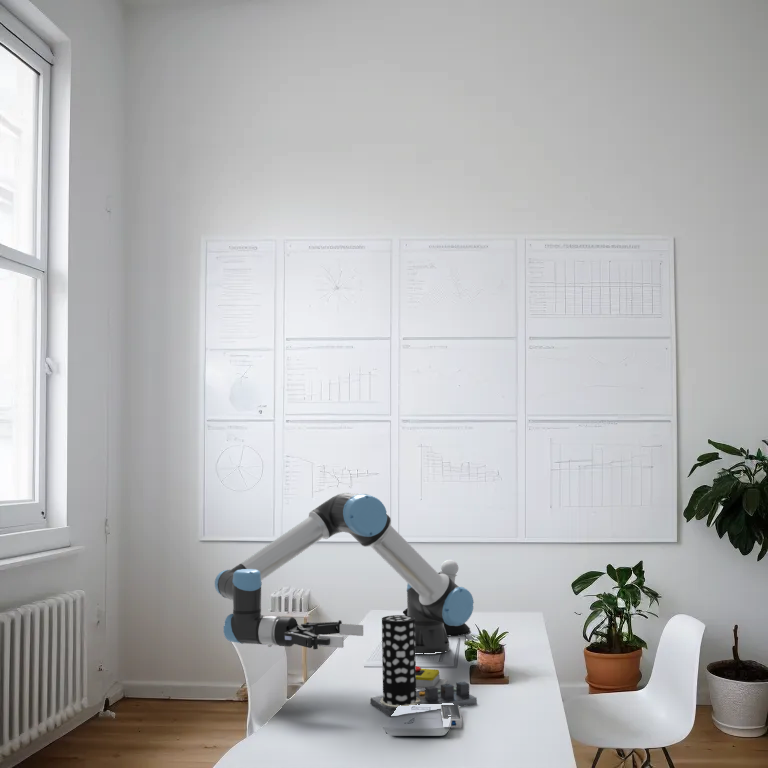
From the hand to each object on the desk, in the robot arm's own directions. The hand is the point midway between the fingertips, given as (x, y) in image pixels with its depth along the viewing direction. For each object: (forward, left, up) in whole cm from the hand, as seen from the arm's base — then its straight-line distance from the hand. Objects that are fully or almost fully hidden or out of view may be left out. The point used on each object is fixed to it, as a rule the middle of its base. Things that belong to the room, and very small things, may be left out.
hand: (353, 636), depth 216 cm
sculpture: (-58, -64, -16) cm, 87 cm away
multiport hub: (-15, +24, -17) cm, 33 cm away
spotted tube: (-8, +10, -15) cm, 20 cm away
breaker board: (-15, +10, -16) cm, 24 cm away
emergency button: (-22, -8, -17) cm, 29 cm away
